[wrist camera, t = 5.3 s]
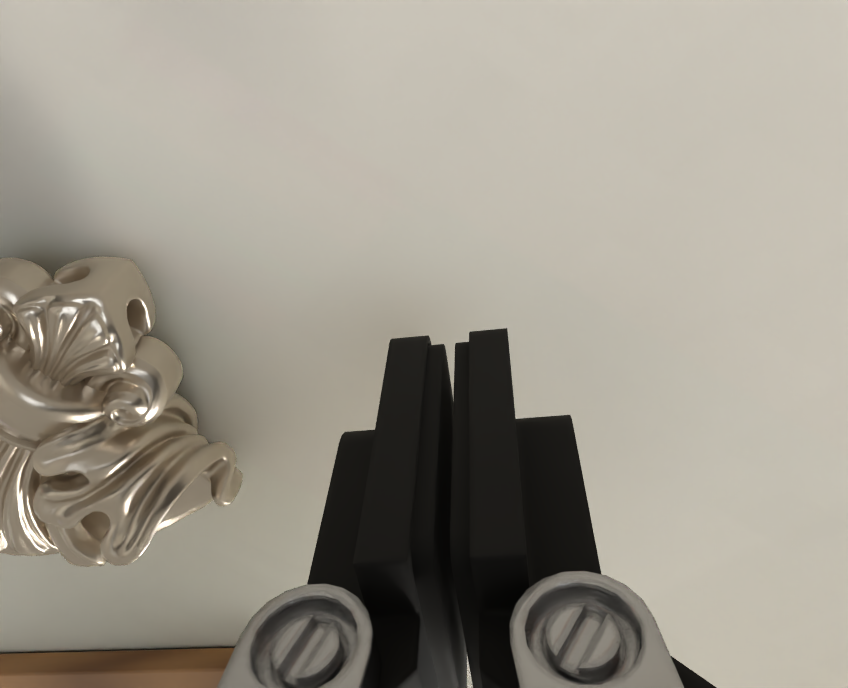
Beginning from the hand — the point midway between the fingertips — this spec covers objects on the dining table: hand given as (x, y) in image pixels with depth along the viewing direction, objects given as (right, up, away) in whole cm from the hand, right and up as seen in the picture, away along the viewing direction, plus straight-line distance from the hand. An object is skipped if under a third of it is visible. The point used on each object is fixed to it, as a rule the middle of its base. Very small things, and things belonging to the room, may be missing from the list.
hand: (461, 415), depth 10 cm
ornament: (-7, +1, +4) cm, 8 cm away
